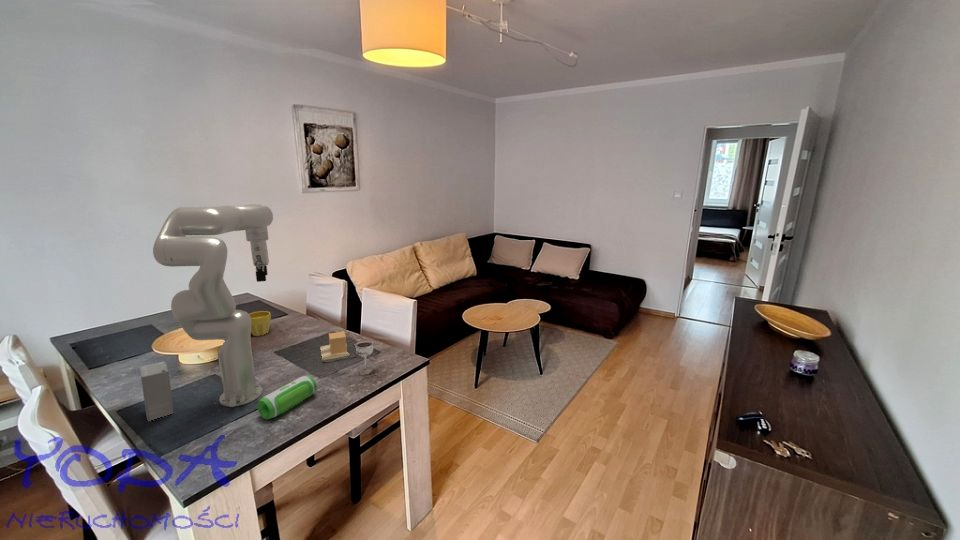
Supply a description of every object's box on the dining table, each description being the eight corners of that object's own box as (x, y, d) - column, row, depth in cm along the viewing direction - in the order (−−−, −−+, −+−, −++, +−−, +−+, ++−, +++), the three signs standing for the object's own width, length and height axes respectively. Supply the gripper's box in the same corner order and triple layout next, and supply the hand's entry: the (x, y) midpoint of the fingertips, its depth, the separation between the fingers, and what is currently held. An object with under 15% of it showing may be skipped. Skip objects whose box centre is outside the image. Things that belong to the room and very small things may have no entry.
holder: (357, 357, 159) (357, 344, 157) (322, 363, 153) (321, 350, 151) (353, 344, 171) (352, 331, 170) (320, 349, 165) (319, 337, 163)
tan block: (347, 351, 160) (346, 336, 158) (331, 354, 157) (330, 339, 156) (345, 345, 166) (344, 331, 164) (329, 348, 163) (328, 333, 161)
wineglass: (369, 377, 143) (368, 348, 140) (353, 374, 144) (351, 346, 142) (377, 368, 150) (376, 341, 147) (362, 366, 151) (360, 339, 148)
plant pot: (251, 330, 183) (248, 311, 181) (274, 328, 186) (272, 310, 184) (245, 338, 174) (242, 319, 171) (270, 336, 177) (267, 317, 174)
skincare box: (145, 411, 120) (135, 366, 116) (173, 402, 125) (165, 359, 121) (147, 423, 114) (137, 377, 110) (177, 413, 119) (168, 369, 115)
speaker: (304, 390, 134) (302, 371, 132) (318, 395, 131) (317, 376, 129) (257, 417, 118) (254, 396, 117) (272, 424, 115) (269, 402, 113)
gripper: (266, 239, 140) (271, 282, 144) (269, 233, 155) (273, 272, 159) (243, 240, 137) (249, 284, 141) (248, 233, 152) (253, 274, 156)
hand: (262, 278), depth 150 cm, fingers open, 9 cm apart
